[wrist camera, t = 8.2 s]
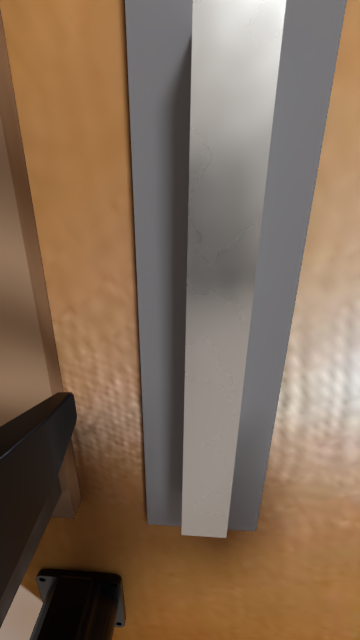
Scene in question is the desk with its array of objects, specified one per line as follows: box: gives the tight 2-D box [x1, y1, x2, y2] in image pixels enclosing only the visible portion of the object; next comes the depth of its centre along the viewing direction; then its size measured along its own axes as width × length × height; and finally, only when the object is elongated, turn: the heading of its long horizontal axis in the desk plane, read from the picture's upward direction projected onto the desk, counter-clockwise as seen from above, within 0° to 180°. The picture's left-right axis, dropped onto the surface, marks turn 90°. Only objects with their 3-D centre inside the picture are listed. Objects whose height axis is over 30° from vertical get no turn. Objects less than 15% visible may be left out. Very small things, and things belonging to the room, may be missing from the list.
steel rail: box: [181, 0, 286, 538], centre depth 13 cm, size 22×2×2 cm, turn 179°
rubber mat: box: [125, 0, 347, 531], centre depth 14 cm, size 28×7×1 cm, turn 179°
